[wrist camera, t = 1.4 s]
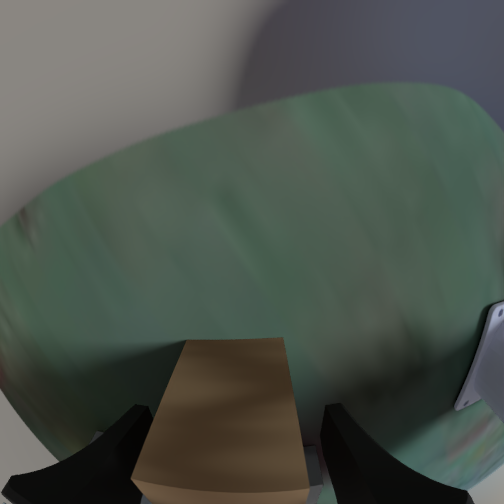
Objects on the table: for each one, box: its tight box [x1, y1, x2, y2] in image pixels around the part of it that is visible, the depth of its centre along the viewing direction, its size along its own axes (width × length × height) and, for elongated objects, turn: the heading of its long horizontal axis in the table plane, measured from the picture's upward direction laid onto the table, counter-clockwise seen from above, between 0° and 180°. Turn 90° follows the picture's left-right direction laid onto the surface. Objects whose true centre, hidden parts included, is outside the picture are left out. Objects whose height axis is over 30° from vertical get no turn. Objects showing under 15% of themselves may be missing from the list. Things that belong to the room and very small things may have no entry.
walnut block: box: [131, 337, 310, 504], centre depth 8 cm, size 4×6×7 cm, turn 3°
